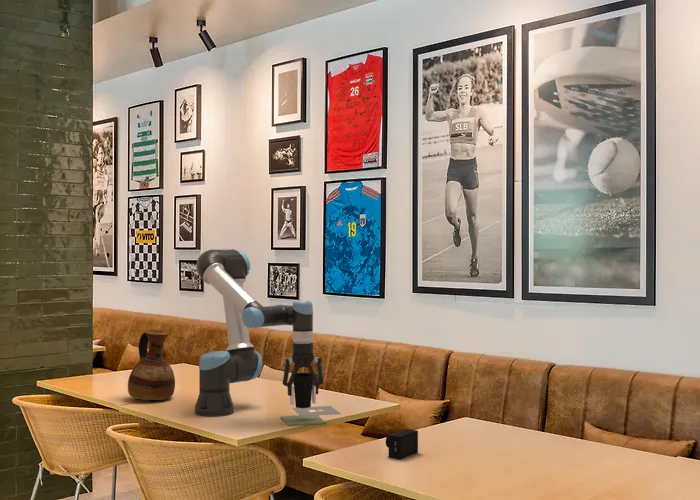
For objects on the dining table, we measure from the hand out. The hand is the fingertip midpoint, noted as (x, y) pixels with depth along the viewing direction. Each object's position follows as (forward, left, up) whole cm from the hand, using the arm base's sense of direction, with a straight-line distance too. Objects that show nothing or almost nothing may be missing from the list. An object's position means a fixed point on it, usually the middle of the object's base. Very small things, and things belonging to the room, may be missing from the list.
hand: (303, 403), depth 279 cm
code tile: (+9, +16, -6) cm, 19 cm away
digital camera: (+19, -55, -7) cm, 58 cm away
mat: (0, 0, -6) cm, 6 cm away
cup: (0, 0, -1) cm, 1 cm away
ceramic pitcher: (-53, +59, -7) cm, 80 cm away
